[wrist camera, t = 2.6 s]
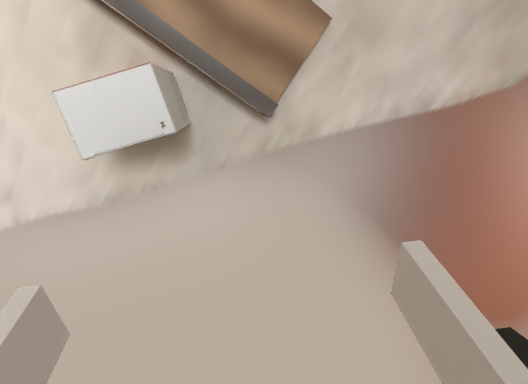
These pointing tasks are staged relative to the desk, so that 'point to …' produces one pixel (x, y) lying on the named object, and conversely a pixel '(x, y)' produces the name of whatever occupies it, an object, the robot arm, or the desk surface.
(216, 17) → the shelf board
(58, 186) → the desk surface
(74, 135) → the small box
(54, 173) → the desk surface
